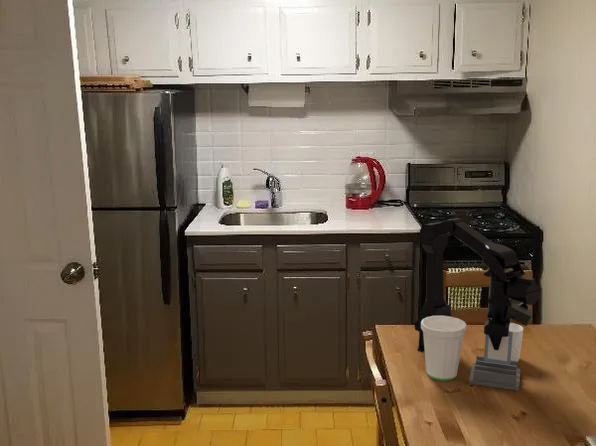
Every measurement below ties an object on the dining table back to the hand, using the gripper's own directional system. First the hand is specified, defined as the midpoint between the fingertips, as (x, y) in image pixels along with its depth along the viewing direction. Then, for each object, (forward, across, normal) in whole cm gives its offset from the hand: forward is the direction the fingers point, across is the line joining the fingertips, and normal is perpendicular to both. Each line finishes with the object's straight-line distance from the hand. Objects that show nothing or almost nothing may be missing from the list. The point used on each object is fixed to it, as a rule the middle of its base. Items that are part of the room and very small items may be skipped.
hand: (496, 348), depth 178 cm
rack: (+9, 0, 0) cm, 9 cm away
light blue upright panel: (+4, 0, 0) cm, 4 cm away
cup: (+9, -3, +14) cm, 17 cm away
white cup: (+9, +14, -3) cm, 17 cm away
